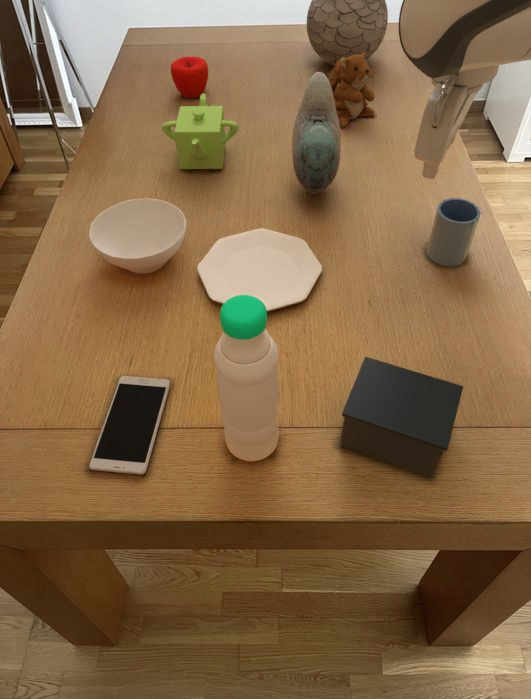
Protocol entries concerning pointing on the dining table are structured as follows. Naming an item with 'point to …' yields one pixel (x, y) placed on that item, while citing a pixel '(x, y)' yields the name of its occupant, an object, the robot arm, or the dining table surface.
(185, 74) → the apple
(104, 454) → the smartphone
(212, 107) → the teapot
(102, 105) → the dining table surface
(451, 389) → the container
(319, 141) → the decorative stone
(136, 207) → the bowl
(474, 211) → the cup
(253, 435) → the water bottle
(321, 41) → the decorative sphere
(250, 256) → the plate
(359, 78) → the stuffed squirrel
